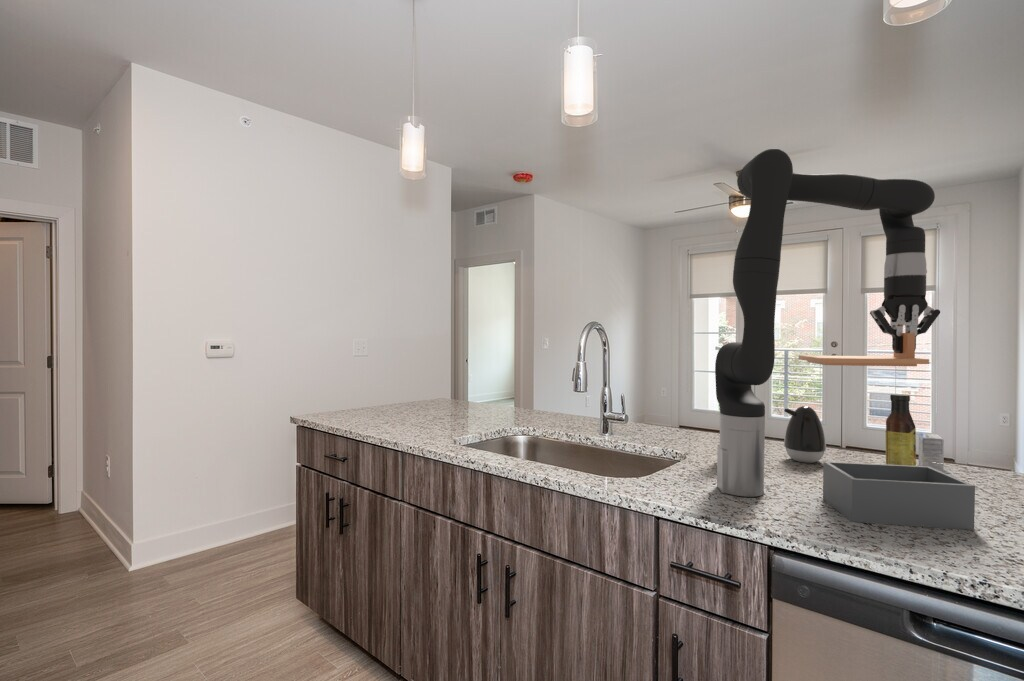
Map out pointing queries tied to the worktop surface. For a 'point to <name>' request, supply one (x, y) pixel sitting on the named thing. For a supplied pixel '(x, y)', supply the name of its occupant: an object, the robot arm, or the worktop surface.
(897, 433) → the sauce bottle
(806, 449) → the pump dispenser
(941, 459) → the medicine box
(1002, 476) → the worktop surface
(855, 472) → the tub
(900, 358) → the lid
